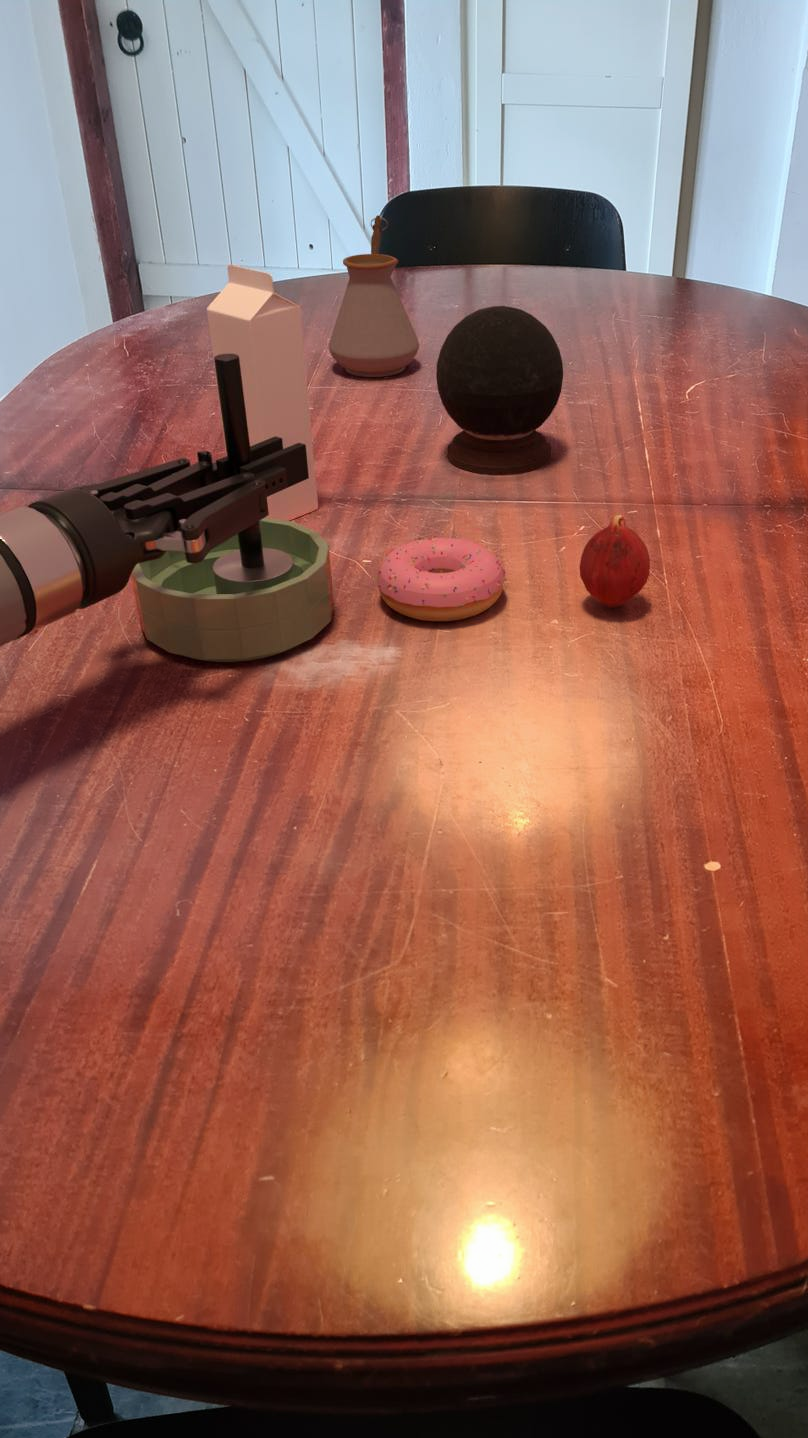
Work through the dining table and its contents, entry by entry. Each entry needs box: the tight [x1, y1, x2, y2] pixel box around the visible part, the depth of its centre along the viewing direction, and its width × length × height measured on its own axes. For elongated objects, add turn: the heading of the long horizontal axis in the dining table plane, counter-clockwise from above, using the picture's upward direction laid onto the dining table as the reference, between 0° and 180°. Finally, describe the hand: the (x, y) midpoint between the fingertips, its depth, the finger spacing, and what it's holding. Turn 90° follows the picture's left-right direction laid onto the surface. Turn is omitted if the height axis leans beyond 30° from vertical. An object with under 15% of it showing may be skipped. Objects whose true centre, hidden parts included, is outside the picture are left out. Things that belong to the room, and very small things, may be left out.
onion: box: [579, 514, 651, 609], centre depth 102 cm, size 6×6×8 cm
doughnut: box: [374, 535, 507, 622], centre depth 104 cm, size 11×11×4 cm
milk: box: [206, 264, 319, 521], centre depth 115 cm, size 6×6×22 cm
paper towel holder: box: [213, 354, 295, 594], centre depth 95 cm, size 6×6×19 cm
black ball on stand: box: [435, 305, 564, 476], centre depth 128 cm, size 13×13×15 cm
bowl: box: [130, 517, 335, 663], centre depth 101 cm, size 16×16×6 cm
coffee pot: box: [328, 215, 420, 378], centre depth 157 cm, size 21×12×15 cm, turn 179°
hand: (291, 457), depth 98 cm, fingers closed on paper towel holder, 2 cm apart
